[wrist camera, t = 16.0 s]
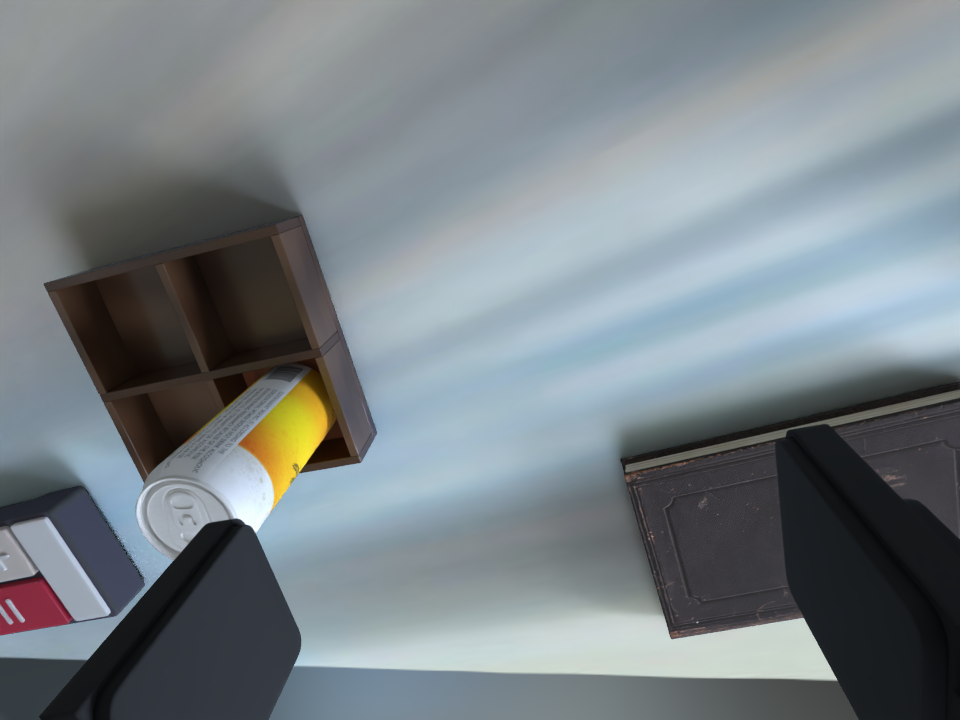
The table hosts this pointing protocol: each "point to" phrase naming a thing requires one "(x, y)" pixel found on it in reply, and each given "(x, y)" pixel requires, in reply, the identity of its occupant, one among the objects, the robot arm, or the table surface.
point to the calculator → (60, 564)
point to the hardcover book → (774, 504)
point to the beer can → (237, 459)
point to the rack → (211, 337)
